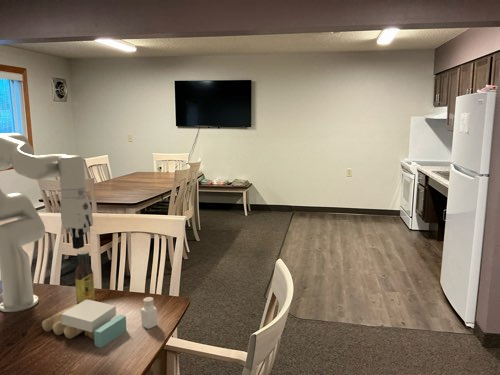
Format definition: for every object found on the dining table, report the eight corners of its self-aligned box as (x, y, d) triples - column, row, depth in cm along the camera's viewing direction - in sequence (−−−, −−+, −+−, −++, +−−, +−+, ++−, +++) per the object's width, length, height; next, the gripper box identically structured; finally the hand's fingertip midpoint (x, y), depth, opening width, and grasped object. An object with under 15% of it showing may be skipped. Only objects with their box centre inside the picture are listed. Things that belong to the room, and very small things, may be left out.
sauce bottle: (88, 308, 144) (84, 256, 140) (73, 306, 145) (68, 255, 142) (98, 300, 150) (95, 250, 147) (84, 299, 151) (80, 249, 148)
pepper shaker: (147, 330, 129) (146, 303, 127) (141, 325, 132) (139, 299, 130) (158, 325, 132) (156, 298, 130) (151, 321, 135) (150, 295, 133)
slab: (61, 324, 125) (61, 314, 124) (87, 308, 135) (86, 299, 134) (92, 332, 121) (91, 321, 120) (115, 315, 131) (115, 305, 130)
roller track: (42, 330, 129) (41, 319, 128) (72, 314, 140) (71, 303, 139) (92, 346, 120) (91, 334, 119) (120, 327, 131) (119, 316, 130)
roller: (93, 341, 124) (98, 334, 123) (85, 332, 125) (91, 325, 123) (108, 330, 130) (114, 323, 129) (101, 321, 131) (106, 315, 130)
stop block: (95, 345, 120) (93, 330, 119) (120, 328, 130) (119, 314, 129) (101, 347, 119) (100, 332, 118) (126, 330, 129) (125, 316, 128)
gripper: (99, 193, 128) (103, 247, 131) (67, 190, 135) (72, 241, 138) (80, 197, 121) (85, 254, 124) (48, 193, 128) (53, 248, 131)
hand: (78, 247), depth 131 cm, fingers closed
